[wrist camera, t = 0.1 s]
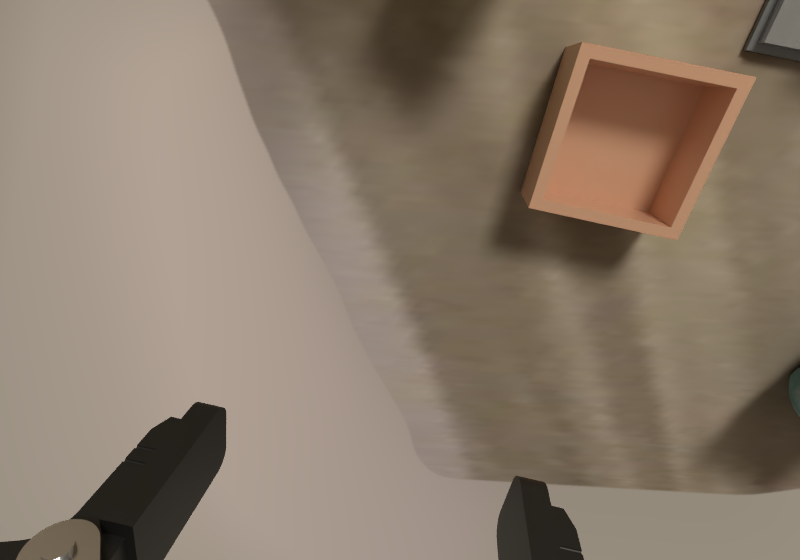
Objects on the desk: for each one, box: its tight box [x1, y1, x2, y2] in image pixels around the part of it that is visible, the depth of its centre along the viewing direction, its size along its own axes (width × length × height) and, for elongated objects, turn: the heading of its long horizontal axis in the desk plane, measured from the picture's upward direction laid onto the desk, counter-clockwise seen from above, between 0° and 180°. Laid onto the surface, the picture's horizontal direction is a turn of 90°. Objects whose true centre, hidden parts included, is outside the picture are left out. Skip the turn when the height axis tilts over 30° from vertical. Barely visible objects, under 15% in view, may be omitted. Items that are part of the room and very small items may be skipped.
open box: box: [520, 42, 756, 240], centre depth 32 cm, size 11×11×5 cm
